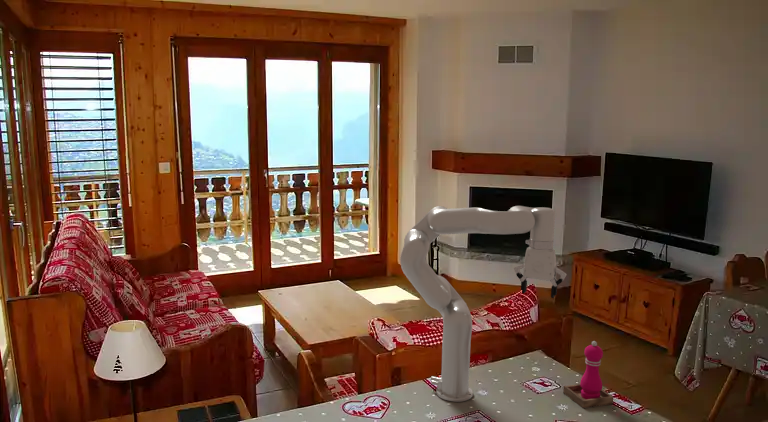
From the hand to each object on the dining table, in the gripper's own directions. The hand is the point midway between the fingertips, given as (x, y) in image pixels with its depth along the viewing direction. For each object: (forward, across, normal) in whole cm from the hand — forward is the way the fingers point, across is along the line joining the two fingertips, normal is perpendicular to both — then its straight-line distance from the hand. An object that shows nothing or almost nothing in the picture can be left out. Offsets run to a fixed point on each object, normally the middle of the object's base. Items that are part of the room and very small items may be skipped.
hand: (538, 294), depth 201 cm
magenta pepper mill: (+36, +18, +8) cm, 41 cm away
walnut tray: (+36, +17, +8) cm, 41 cm away
